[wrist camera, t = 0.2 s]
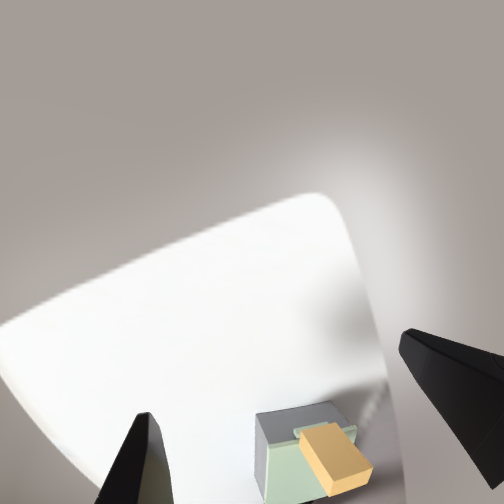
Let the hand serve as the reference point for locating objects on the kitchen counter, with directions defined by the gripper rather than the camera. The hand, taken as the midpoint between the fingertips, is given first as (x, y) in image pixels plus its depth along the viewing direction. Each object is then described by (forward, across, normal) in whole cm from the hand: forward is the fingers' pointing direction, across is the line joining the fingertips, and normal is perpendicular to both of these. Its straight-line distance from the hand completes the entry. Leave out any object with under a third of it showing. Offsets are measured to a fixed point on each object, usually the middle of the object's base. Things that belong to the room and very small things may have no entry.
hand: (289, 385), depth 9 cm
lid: (+6, -3, +21) cm, 22 cm away
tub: (+10, -3, +23) cm, 25 cm away
